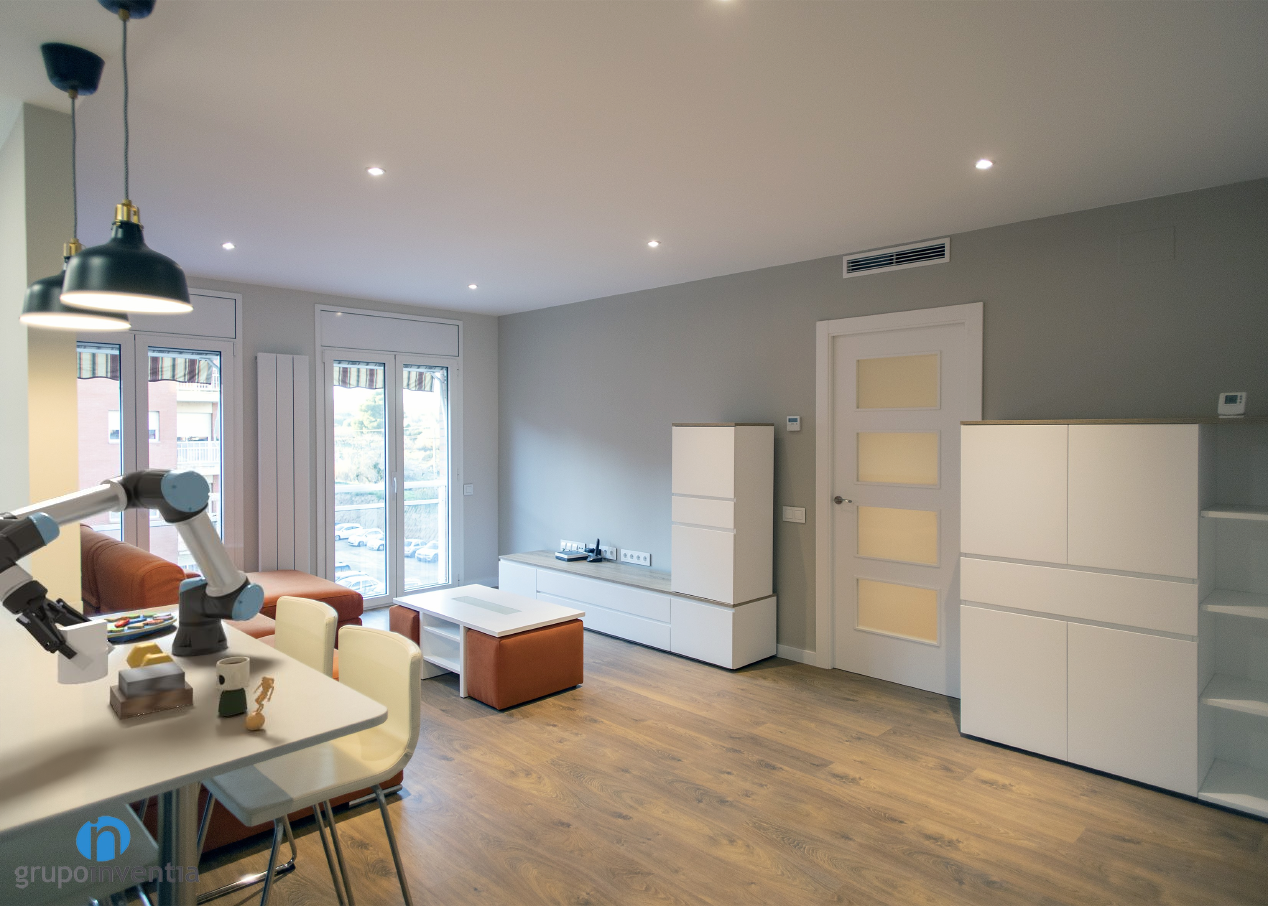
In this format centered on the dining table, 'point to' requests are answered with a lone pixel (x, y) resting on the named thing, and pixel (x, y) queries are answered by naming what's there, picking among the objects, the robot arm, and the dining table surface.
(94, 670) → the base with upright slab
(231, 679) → the character mug
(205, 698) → the dining table surface
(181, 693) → the grey and brown block
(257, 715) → the figurine
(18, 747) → the dining table surface
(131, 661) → the dumbbell
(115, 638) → the shape sorting clock
